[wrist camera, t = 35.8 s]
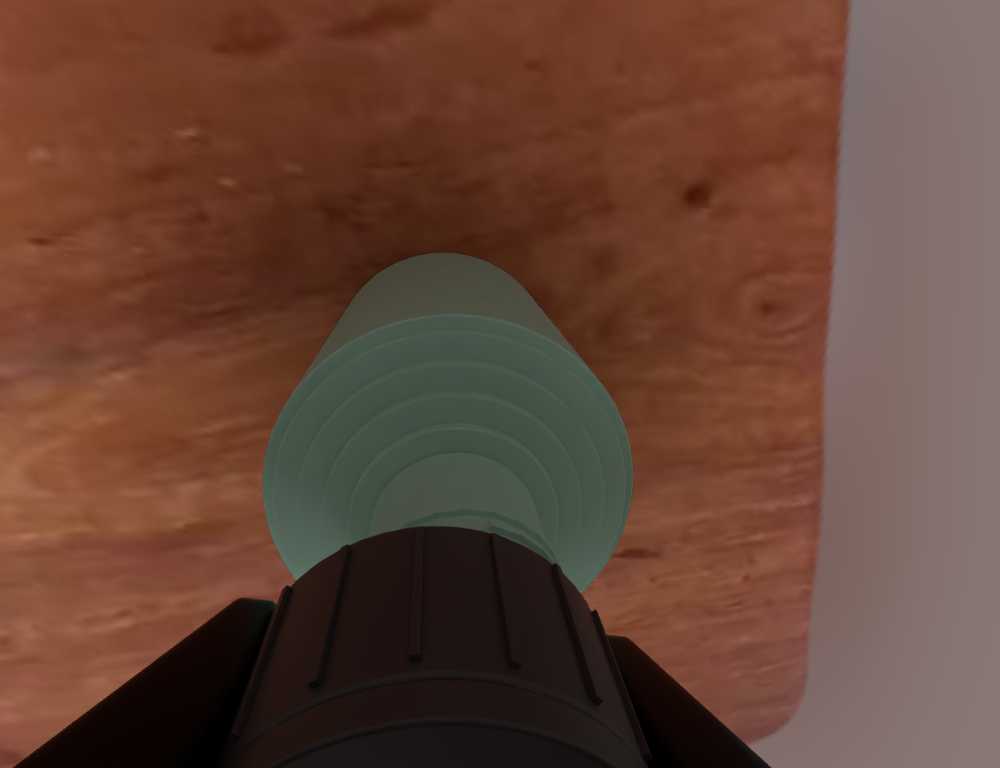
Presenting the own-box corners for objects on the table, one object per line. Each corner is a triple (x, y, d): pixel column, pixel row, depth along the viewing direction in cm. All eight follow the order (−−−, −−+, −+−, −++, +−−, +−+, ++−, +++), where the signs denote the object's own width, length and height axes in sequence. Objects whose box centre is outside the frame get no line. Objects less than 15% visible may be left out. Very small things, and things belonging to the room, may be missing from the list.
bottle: (499, 486, 21) (579, 861, 9) (304, 417, 19) (124, 759, 8) (586, 304, 19) (808, 491, 8) (381, 215, 18) (290, 287, 6)
